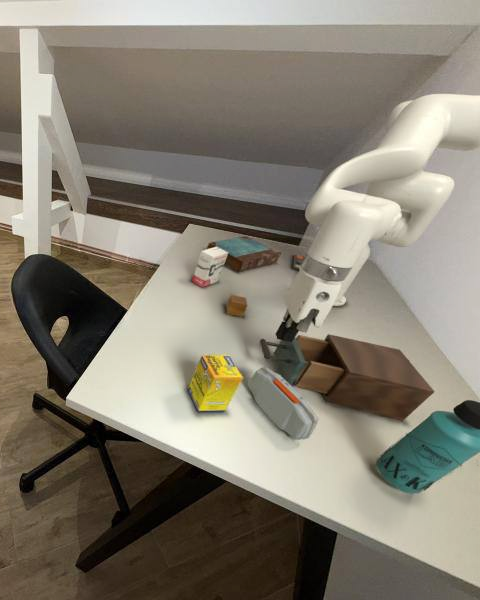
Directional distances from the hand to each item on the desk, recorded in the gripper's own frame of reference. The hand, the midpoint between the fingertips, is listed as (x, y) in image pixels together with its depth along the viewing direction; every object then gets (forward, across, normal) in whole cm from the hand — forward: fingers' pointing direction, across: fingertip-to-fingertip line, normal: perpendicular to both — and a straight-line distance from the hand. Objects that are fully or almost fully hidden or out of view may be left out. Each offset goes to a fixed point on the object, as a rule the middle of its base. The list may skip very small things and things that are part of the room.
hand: (283, 338), depth 70 cm
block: (+10, +23, +5) cm, 26 cm away
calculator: (+10, +70, -29) cm, 77 cm away
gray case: (+10, -14, +2) cm, 17 cm away
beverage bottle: (+10, -22, -17) cm, 29 cm away
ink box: (+10, +39, +13) cm, 42 cm away
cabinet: (+10, 0, -18) cm, 21 cm away
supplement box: (+10, -16, +15) cm, 24 cm away
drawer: (+9, 0, -6) cm, 11 cm away
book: (+10, +65, -2) cm, 66 cm away
